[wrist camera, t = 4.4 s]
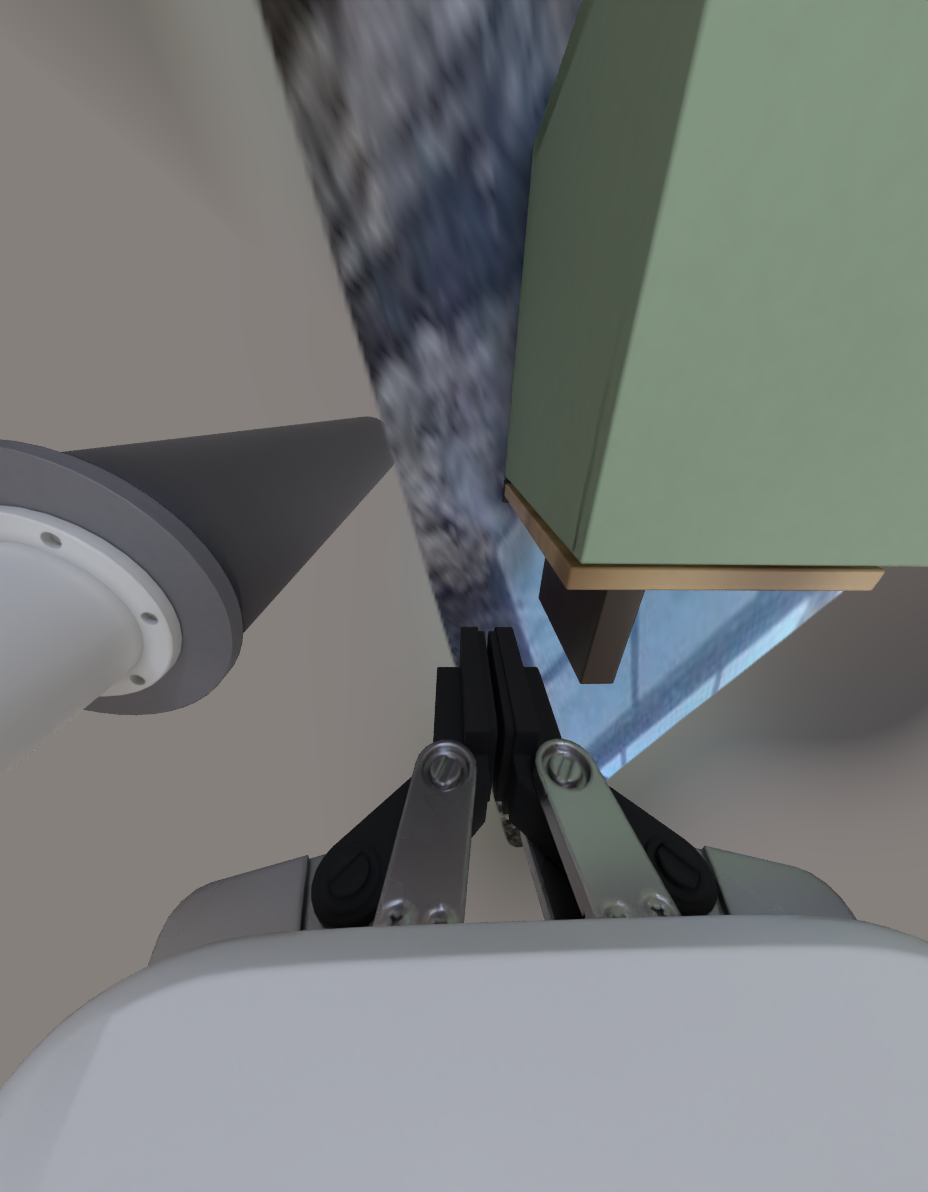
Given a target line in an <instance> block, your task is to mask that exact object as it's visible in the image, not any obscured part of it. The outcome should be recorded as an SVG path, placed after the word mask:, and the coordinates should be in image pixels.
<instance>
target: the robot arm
mask: <svg viewBox="0 0 928 1192" xmlns="http://www.w3.org/2000/svg"><path fill="white" fill-rule="evenodd" d="M181 644H182V634H181V628H180V623H179V620H178V618H177V615H176V613H175V611H174V608H173V606H172V604H171V603H170V601H169V600H168V598H167V597H166V595H165V594H164V592H163V591H162V589H161V588H160V587H159V586H158V585H157V583H156V582H155V581H154V580H153V579H152V578H151V577H150V576H149V574H148V573H147V572H146V571H145V570H144V569H142V568H141V567H140V566H139V565H138V564H137V563H135V562H134V561H133V560H132V559H131V558H130V557H128V556H127V555H126V554H125V553H123V552H122V551H120V550H119V549H117V548H116V547H114V546H113V545H111V544H110V543H108V542H107V541H105V540H104V539H102V538H100V537H98V536H96V535H95V534H93V533H91V532H89V531H87V530H85V529H83V528H81V527H79V526H77V525H75V524H72V523H70V522H67V521H65V520H62V519H59V518H57V517H54V516H52V515H49V514H45V513H41V512H37V511H33V510H29V509H25V508H21V507H13V506H3V505H0V778H2V777H3V776H4V775H5V774H6V773H7V772H9V771H10V770H11V769H12V768H14V767H15V766H16V765H17V764H18V763H20V762H21V761H22V760H23V759H24V758H26V757H27V756H28V755H29V754H30V753H32V752H33V750H35V749H36V748H37V747H39V746H40V745H41V744H42V743H44V742H45V741H46V740H47V739H48V738H50V737H51V736H52V735H53V734H54V733H56V732H57V731H58V730H59V729H60V728H62V727H63V726H64V725H65V724H66V723H68V722H69V721H70V720H71V719H72V718H74V717H75V716H76V715H77V714H78V713H80V712H81V711H82V710H83V709H84V708H86V707H87V706H88V705H89V704H90V703H92V702H93V701H94V700H95V699H96V698H98V697H99V696H103V697H105V696H117V695H126V694H130V693H134V692H138V691H141V690H143V689H145V688H147V687H149V686H151V685H153V684H154V683H156V682H157V681H158V680H159V679H160V678H162V677H163V676H164V675H165V674H166V673H167V672H168V671H169V670H170V669H171V668H172V666H173V665H174V664H175V663H176V661H177V659H178V656H179V654H180V652H181ZM492 780H493V789H494V798H495V801H502V808H503V814H509V820H510V822H511V823H512V824H514V825H515V826H516V827H517V828H518V829H519V830H520V835H521V840H522V844H523V847H524V851H525V854H526V857H527V861H528V864H529V867H530V871H531V875H532V878H533V881H534V885H535V888H536V892H537V895H538V898H539V902H540V905H541V909H542V912H543V916H544V919H545V920H543V921H542V920H541V921H513V922H512V921H511V922H484V923H482V922H481V923H464V917H465V904H466V893H467V882H468V870H469V859H470V848H471V838H472V837H473V836H474V834H475V833H476V832H477V831H478V830H479V828H480V827H481V826H482V825H483V823H484V822H485V818H486V810H487V802H489V801H490V794H491V786H492ZM0 1192H928V942H927V941H925V940H922V939H920V938H918V937H915V936H912V935H909V934H906V933H903V932H901V931H898V930H894V929H891V928H889V927H885V926H881V925H877V924H873V923H869V922H865V921H859V920H857V919H856V918H855V916H854V914H853V913H852V911H851V910H850V909H849V907H848V906H847V905H846V904H845V902H844V901H843V899H842V898H841V897H840V896H839V895H838V894H837V893H836V892H835V891H834V890H833V889H832V888H831V887H830V886H828V885H827V884H826V883H825V882H824V881H822V880H821V879H819V878H818V877H816V876H814V875H813V874H812V873H810V872H808V871H805V870H802V869H800V868H797V867H794V866H790V865H785V864H781V863H777V862H772V861H768V860H764V859H760V858H755V857H751V856H747V855H742V854H738V853H734V852H730V851H725V850H721V849H716V848H712V847H708V846H704V847H703V849H698V848H694V847H693V846H692V845H691V844H690V843H688V842H687V841H686V840H685V839H683V838H682V837H681V836H679V835H678V834H676V833H675V832H674V831H672V830H671V829H669V828H668V827H666V826H665V825H664V824H662V823H661V822H659V821H658V820H657V819H655V818H654V817H652V816H651V815H649V814H648V813H647V812H645V811H644V810H642V809H641V808H640V807H638V806H637V805H635V804H634V803H632V802H631V801H630V800H628V799H627V798H625V797H624V796H622V795H621V794H619V793H618V792H617V791H615V790H614V789H613V788H611V787H610V786H608V784H607V783H606V781H605V779H604V777H603V775H602V774H601V772H600V770H599V768H598V767H597V765H596V763H595V761H594V760H593V758H592V757H591V756H590V754H589V753H588V752H587V751H586V750H585V749H583V748H582V747H581V746H580V745H578V744H576V743H574V742H572V741H569V740H565V739H562V738H561V735H560V732H559V729H558V726H557V723H556V720H555V717H554V714H553V711H552V708H551V705H550V702H549V699H548V696H547V693H546V690H545V687H544V684H543V681H542V678H541V675H540V672H539V670H538V668H537V667H523V664H522V660H521V657H520V653H519V650H518V646H517V642H516V639H515V635H514V631H513V628H512V627H495V630H494V631H489V633H488V644H487V648H486V641H485V634H484V631H478V627H461V640H460V667H438V668H437V683H436V701H435V721H434V738H433V743H432V744H430V745H428V746H427V747H425V749H424V750H423V751H422V752H421V753H420V754H419V756H418V758H417V761H416V763H415V767H414V771H413V775H412V777H411V778H410V779H409V780H407V781H406V782H405V783H404V784H403V785H402V786H401V787H400V788H398V789H397V790H396V791H395V792H394V793H393V794H392V795H391V796H389V797H388V798H387V799H386V800H385V801H384V802H383V803H382V804H381V805H379V806H378V807H377V808H376V809H375V810H374V811H373V812H371V813H370V814H369V815H368V816H367V817H366V818H365V819H363V820H362V821H361V822H360V823H359V824H358V825H357V826H356V827H355V828H353V829H352V830H351V831H350V832H349V833H348V834H347V835H345V836H344V837H343V838H342V839H341V840H340V841H339V842H338V843H336V844H335V845H334V846H333V847H332V848H331V849H330V850H329V851H328V853H327V854H325V855H321V856H318V857H314V858H311V859H309V857H308V855H306V856H303V857H299V858H296V859H293V860H289V861H285V862H282V863H278V864H275V865H271V866H268V867H264V868H261V869H257V870H254V871H250V872H247V873H243V874H240V875H236V876H233V877H229V878H225V879H222V880H218V881H215V882H212V883H209V884H207V885H205V886H203V887H200V888H198V889H196V890H195V891H194V892H192V893H191V894H190V895H189V896H187V897H186V898H185V899H184V900H183V901H181V902H180V904H179V905H178V906H177V907H176V909H175V910H174V911H173V912H172V913H171V915H170V916H169V917H168V919H167V921H166V923H165V925H164V927H163V929H162V930H161V932H160V934H159V936H158V939H157V942H156V945H155V947H154V950H153V953H152V955H151V958H150V961H149V964H148V966H147V967H146V968H143V969H142V970H140V971H138V972H136V973H134V974H132V975H130V976H128V977H127V978H125V979H123V980H121V981H119V982H117V983H116V984H115V985H113V986H111V987H110V988H108V989H107V990H105V991H104V992H102V993H100V994H99V995H97V996H96V997H94V998H92V999H91V1000H89V1001H88V1002H87V1003H85V1004H84V1005H83V1006H81V1007H80V1008H79V1009H77V1010H76V1011H75V1012H74V1013H72V1014H71V1015H70V1016H68V1017H67V1018H66V1019H64V1020H63V1021H62V1022H61V1023H60V1024H59V1025H58V1026H57V1027H55V1028H54V1029H53V1030H52V1031H51V1032H50V1033H49V1034H48V1035H47V1036H46V1037H45V1038H44V1039H43V1040H42V1041H41V1042H40V1043H39V1044H38V1045H37V1046H36V1047H35V1049H33V1051H32V1052H31V1053H30V1054H29V1055H28V1056H27V1057H26V1058H25V1059H24V1060H23V1061H22V1063H21V1064H20V1065H19V1066H18V1067H17V1069H16V1070H15V1071H14V1072H13V1073H12V1075H11V1076H10V1077H9V1079H8V1080H7V1081H6V1082H5V1083H4V1085H3V1086H2V1087H1V1088H0Z"/></svg>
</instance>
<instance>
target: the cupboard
mask: <svg viewBox="0 0 928 1192" xmlns="http://www.w3.org/2000/svg"><path fill="white" fill-rule="evenodd" d="M505 476H506V478H508V480H504V488H503V500H502V501H503V502H506V503H509V502H508V500H507V499H506V497H505V485H506V484H513V485H514V486H515V488H516V489H517V490H518V491H519V492H520V493H521V495H522V496H523V497H524V498H525V499H526V500H527V501H528V503H529V504H530V505H531V506H532V507H533V508H534V510H535V511H536V512H537V513H538V514H539V515H540V517H541V518H542V519H543V520H544V521H545V522H546V523H547V525H548V526H549V527H550V528H551V529H552V530H553V532H554V533H555V534H556V535H557V536H558V537H559V538H560V540H561V541H562V542H563V543H564V544H565V545H566V547H567V548H568V549H569V550H570V551H571V552H572V554H573V555H574V556H575V557H576V558H577V560H578V561H579V562H580V563H582V564H687V565H805V566H924V567H928V0H582V3H581V6H580V9H579V12H578V15H577V18H576V21H575V24H574V27H573V30H572V33H571V36H570V39H569V42H568V45H567V48H566V51H565V54H564V57H563V60H562V63H561V66H560V69H559V72H558V75H557V78H556V81H555V83H554V86H553V89H552V92H551V95H550V98H549V101H548V104H547V107H546V110H545V113H544V116H543V119H542V122H541V125H540V128H539V131H538V134H537V137H536V140H535V143H534V146H533V157H532V169H531V180H530V192H529V203H528V215H527V226H526V238H525V249H524V260H523V272H522V283H521V295H520V306H519V318H518V329H517V341H516V352H515V364H514V375H513V386H512V398H511V409H510V421H509V432H508V444H507V455H506V467H505Z"/></svg>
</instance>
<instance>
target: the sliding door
mask: <svg viewBox="0 0 928 1192" xmlns="http://www.w3.org/2000/svg"><path fill="white" fill-rule="evenodd" d="M505 497H506V499H507V500H508V502H509V503H510V505H511V506H512V508H513V509H514V511H515V512H516V514H517V515H518V517H519V518H520V520H521V521H522V523H523V524H524V526H525V527H526V529H527V530H528V532H529V533H530V535H531V536H532V538H533V539H534V541H535V542H536V544H537V545H538V547H539V548H540V550H541V551H542V553H543V554H544V556H545V562H544V568H543V574H542V580H541V587H540V593H539V600H540V602H541V604H542V606H543V608H544V610H545V612H546V614H547V616H548V618H549V620H550V622H551V624H552V627H553V629H554V631H555V633H556V635H557V637H558V639H559V641H560V643H561V645H562V647H563V649H564V651H565V653H566V655H567V657H568V659H569V661H570V664H571V666H572V668H573V670H574V672H575V674H576V676H577V678H578V680H579V682H580V683H581V684H612V683H613V682H614V679H615V676H616V673H617V670H618V667H619V664H620V661H621V658H622V655H623V653H624V650H625V647H626V644H627V641H628V638H629V635H630V632H631V629H632V626H633V623H634V621H635V618H636V615H637V612H638V609H639V606H640V603H641V600H642V597H643V594H644V592H645V590H787V591H870V590H872V589H873V588H874V586H875V585H876V584H877V582H878V581H879V580H880V578H881V577H882V576H883V574H884V573H885V570H884V569H882V568H879V567H877V566H805V565H687V564H582V563H580V562H579V561H578V560H577V558H576V557H575V556H574V555H573V554H572V552H571V551H570V550H569V549H568V548H567V547H566V545H565V544H564V543H563V542H562V541H561V540H560V538H559V537H558V536H557V535H556V534H555V533H554V532H553V530H552V529H551V528H550V527H549V526H548V525H547V523H546V522H545V521H544V520H543V519H542V518H541V517H540V515H539V514H538V513H537V512H536V511H535V510H534V508H533V507H532V506H531V505H530V504H529V503H528V501H527V500H526V499H525V498H524V497H523V496H522V495H521V493H520V492H519V491H518V490H517V489H516V488H515V486H514V485H513V484H506V485H505Z"/></svg>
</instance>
